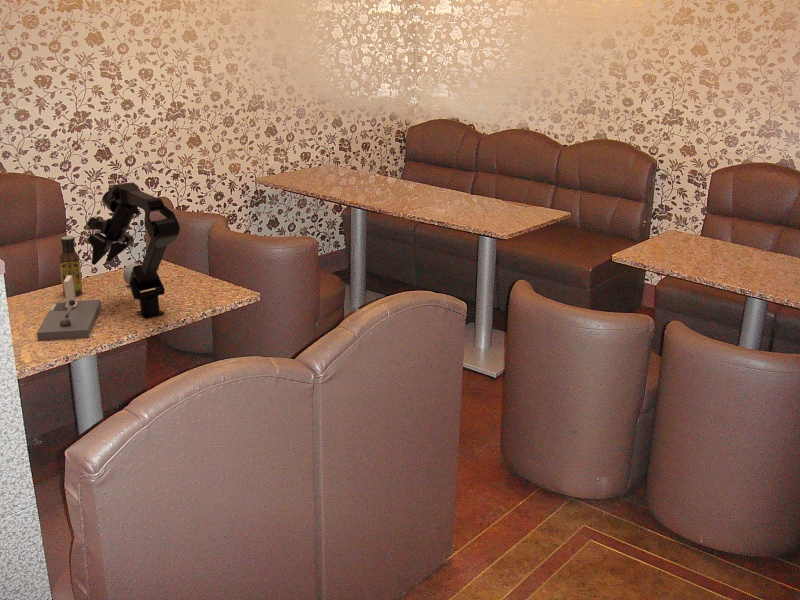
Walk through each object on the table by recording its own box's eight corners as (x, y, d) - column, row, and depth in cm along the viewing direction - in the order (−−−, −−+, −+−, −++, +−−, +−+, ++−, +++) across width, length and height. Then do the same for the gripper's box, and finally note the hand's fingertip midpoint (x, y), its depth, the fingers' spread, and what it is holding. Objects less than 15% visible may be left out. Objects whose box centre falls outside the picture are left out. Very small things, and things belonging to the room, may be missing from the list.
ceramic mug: (139, 291, 272) (137, 269, 269) (123, 286, 276) (121, 265, 273) (163, 283, 280) (162, 262, 278) (147, 279, 284) (145, 258, 282)
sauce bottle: (63, 298, 264) (55, 240, 257) (63, 292, 269) (55, 235, 262) (83, 296, 266) (76, 239, 259) (83, 290, 271) (76, 234, 264)
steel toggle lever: (70, 317, 236) (76, 300, 235) (69, 319, 234) (75, 302, 233) (64, 315, 235) (70, 297, 234) (62, 317, 234) (69, 300, 232)
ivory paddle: (78, 301, 253) (74, 275, 250) (74, 308, 247) (71, 281, 244) (68, 302, 252) (64, 275, 249) (64, 309, 247) (60, 281, 244)
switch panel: (101, 306, 257) (100, 296, 256) (88, 337, 233) (87, 326, 232) (55, 309, 254) (54, 298, 253) (37, 340, 230) (36, 328, 229)
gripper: (114, 206, 259) (94, 247, 262) (83, 208, 241) (63, 252, 244) (143, 223, 259) (123, 264, 262) (114, 226, 240) (93, 270, 244)
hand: (100, 262), depth 253 cm, fingers open, 9 cm apart
